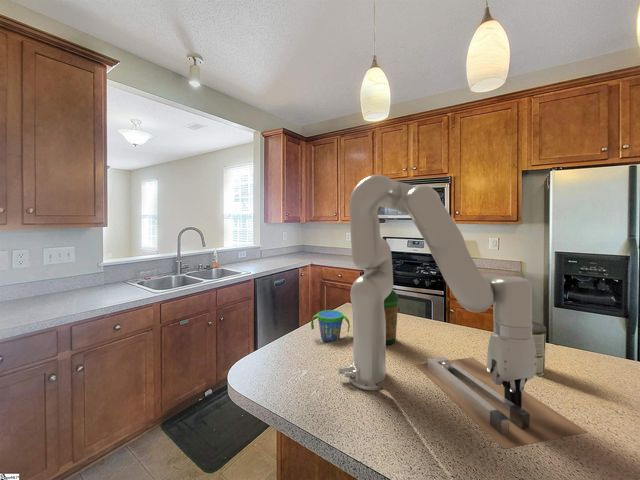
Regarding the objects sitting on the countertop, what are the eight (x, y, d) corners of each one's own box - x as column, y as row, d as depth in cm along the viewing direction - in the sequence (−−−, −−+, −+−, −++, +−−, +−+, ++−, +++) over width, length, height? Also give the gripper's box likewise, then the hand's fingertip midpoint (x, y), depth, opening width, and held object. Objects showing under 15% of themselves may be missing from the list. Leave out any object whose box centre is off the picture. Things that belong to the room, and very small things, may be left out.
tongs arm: (439, 371, 85) (439, 361, 84) (450, 369, 86) (450, 359, 85) (515, 430, 61) (515, 416, 60) (529, 427, 62) (529, 413, 61)
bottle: (400, 351, 102) (400, 275, 100) (370, 349, 103) (369, 274, 102) (396, 339, 112) (396, 269, 110) (369, 338, 114) (369, 269, 112)
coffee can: (497, 360, 94) (498, 319, 93) (527, 359, 95) (529, 318, 94) (520, 377, 84) (522, 331, 83) (554, 376, 84) (555, 330, 83)
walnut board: (503, 456, 56) (504, 448, 56) (414, 369, 90) (414, 364, 89) (587, 438, 60) (587, 432, 60) (472, 361, 94) (472, 357, 94)
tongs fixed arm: (427, 368, 87) (427, 358, 87) (444, 366, 88) (444, 356, 88) (500, 434, 60) (501, 420, 60) (524, 429, 61) (524, 415, 61)
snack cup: (352, 335, 117) (351, 311, 116) (346, 346, 107) (346, 320, 106) (316, 331, 122) (316, 308, 121) (307, 341, 112) (307, 316, 111)
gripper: (524, 321, 72) (524, 391, 72) (472, 327, 69) (474, 400, 70) (554, 331, 64) (554, 409, 65) (498, 339, 61) (499, 421, 62)
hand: (512, 404), depth 67 cm, fingers closed
